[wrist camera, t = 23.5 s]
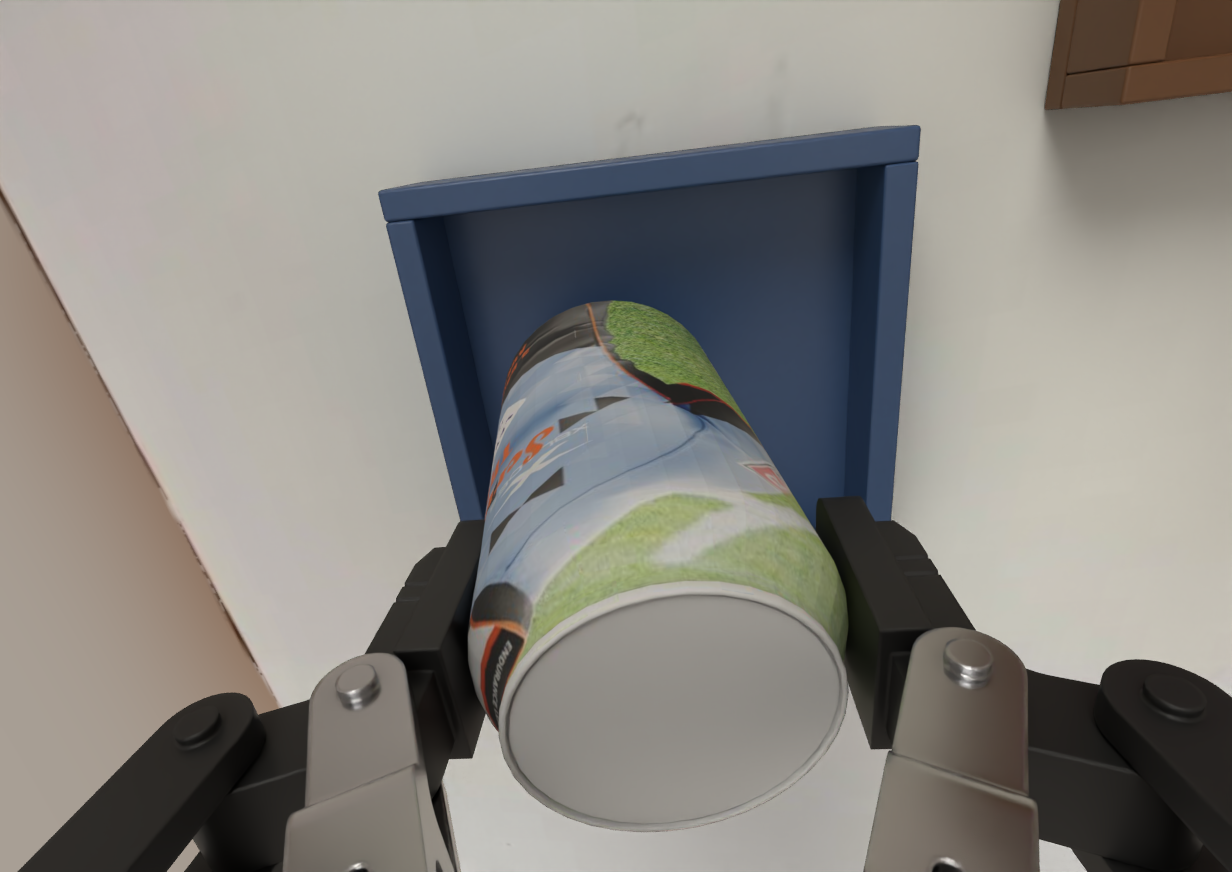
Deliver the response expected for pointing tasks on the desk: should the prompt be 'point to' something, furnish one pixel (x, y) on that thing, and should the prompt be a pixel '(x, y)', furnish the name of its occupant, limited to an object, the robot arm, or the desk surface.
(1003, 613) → the desk surface
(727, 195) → the tray
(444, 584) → the robot arm
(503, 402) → the beverage can
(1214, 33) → the snack tray
